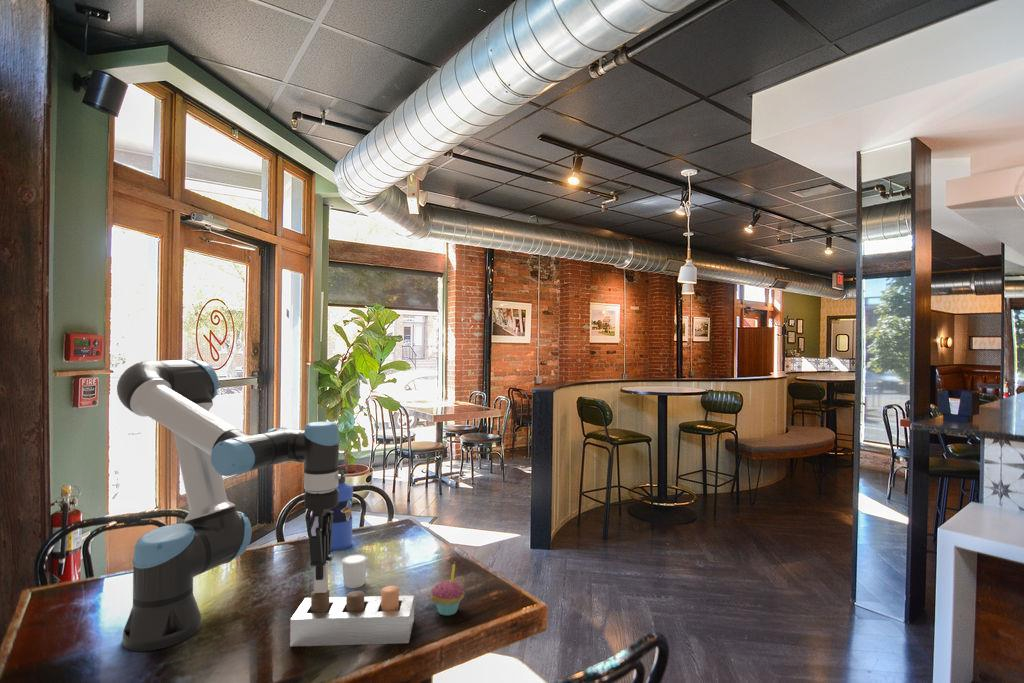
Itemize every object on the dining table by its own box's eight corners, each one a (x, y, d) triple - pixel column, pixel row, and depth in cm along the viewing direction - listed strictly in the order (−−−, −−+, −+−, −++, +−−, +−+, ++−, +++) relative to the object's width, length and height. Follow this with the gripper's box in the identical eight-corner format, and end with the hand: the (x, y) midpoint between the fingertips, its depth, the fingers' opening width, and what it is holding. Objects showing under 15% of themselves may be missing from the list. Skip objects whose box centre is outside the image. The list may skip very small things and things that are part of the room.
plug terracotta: (379, 624, 121) (380, 593, 121) (382, 615, 125) (383, 585, 125) (397, 623, 122) (397, 593, 122) (399, 615, 126) (400, 585, 126)
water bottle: (317, 549, 173) (318, 473, 173) (331, 539, 182) (332, 466, 182) (344, 551, 171) (345, 474, 172) (357, 541, 180) (358, 468, 181)
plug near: (308, 627, 120) (308, 596, 120) (313, 618, 124) (314, 588, 124) (326, 627, 121) (326, 596, 121) (331, 618, 125) (331, 588, 125)
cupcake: (450, 599, 139) (451, 554, 140) (471, 611, 133) (472, 563, 133) (423, 611, 133) (424, 563, 134) (444, 623, 127) (444, 573, 127)
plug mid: (344, 629, 121) (344, 599, 121) (348, 620, 125) (348, 590, 125) (361, 629, 121) (362, 598, 121) (365, 620, 125) (365, 590, 125)
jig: (290, 646, 117) (290, 619, 117) (304, 623, 127) (305, 597, 127) (408, 643, 119) (408, 616, 119) (413, 620, 129) (414, 595, 129)
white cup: (359, 590, 144) (360, 564, 145) (336, 587, 146) (337, 562, 146) (371, 579, 151) (371, 554, 151) (349, 577, 153) (349, 552, 153)
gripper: (330, 496, 117) (329, 604, 116) (345, 482, 130) (344, 578, 129) (295, 497, 116) (294, 605, 116) (313, 482, 129) (313, 579, 129)
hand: (320, 591), depth 122 cm, fingers closed
